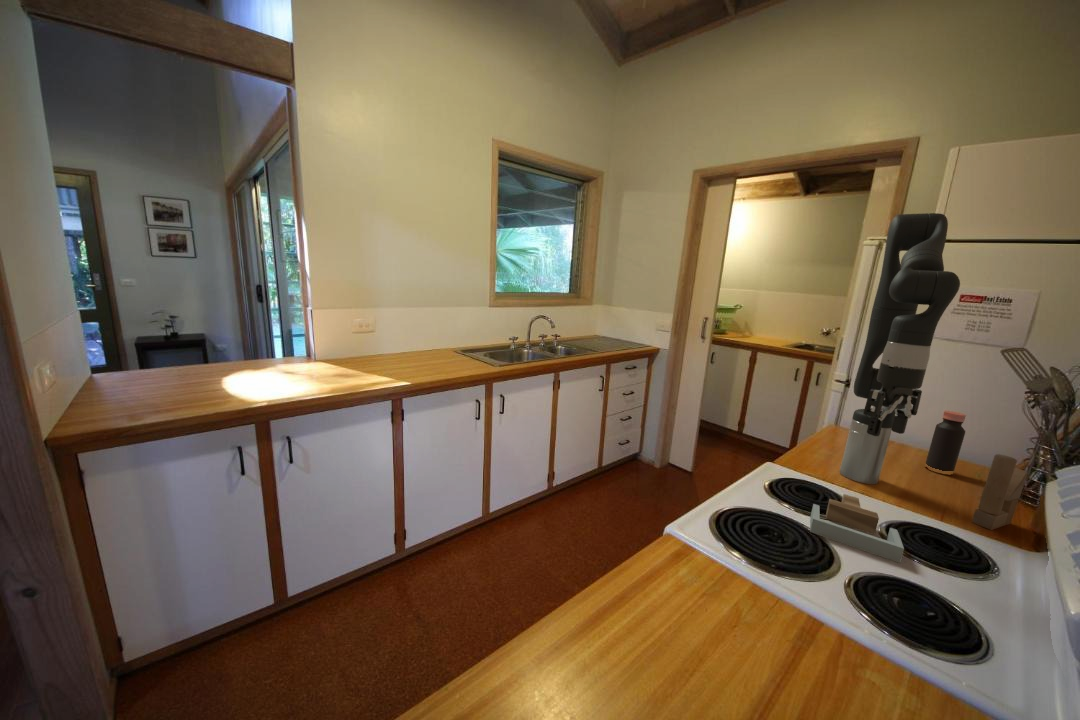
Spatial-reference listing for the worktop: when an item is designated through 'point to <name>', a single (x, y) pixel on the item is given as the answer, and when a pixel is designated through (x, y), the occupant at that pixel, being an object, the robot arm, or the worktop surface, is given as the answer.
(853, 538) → the bracket
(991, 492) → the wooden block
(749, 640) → the worktop surface
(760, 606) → the worktop surface
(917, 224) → the robot arm
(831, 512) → the t block
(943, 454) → the bottle
